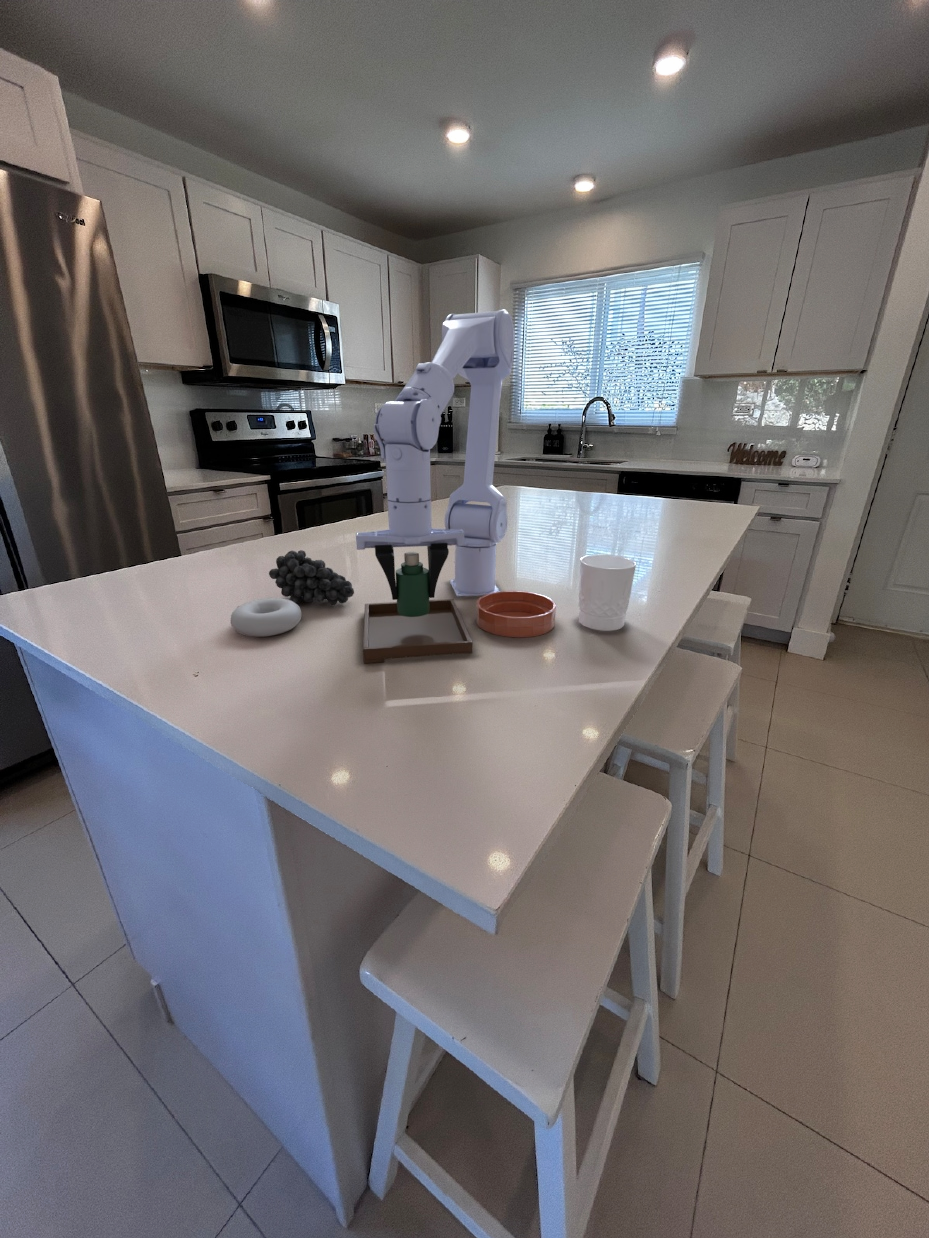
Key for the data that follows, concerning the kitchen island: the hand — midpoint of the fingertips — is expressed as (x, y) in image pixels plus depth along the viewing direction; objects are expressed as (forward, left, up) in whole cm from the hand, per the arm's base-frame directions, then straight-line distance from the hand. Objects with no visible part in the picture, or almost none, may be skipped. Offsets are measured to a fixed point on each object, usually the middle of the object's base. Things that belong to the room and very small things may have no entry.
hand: (412, 596), depth 72 cm
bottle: (0, 0, -2) cm, 2 cm away
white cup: (+1, +29, -6) cm, 29 cm away
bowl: (-1, +16, -6) cm, 17 cm away
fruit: (-16, -15, -6) cm, 23 cm away
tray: (0, 0, -6) cm, 6 cm away
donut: (-6, -21, -6) cm, 23 cm away
